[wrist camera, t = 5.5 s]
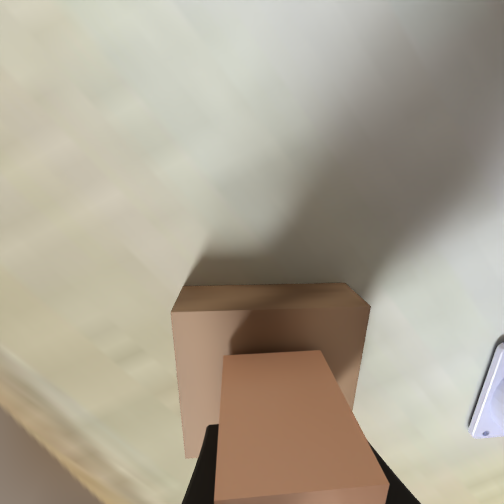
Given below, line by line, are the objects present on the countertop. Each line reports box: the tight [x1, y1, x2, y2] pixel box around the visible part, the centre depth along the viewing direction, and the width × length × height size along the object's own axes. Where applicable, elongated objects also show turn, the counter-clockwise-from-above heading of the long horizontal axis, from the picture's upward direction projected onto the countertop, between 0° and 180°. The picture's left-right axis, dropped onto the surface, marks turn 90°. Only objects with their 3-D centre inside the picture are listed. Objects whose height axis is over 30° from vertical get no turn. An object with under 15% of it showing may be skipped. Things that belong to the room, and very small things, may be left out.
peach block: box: [214, 350, 390, 504], centre depth 9 cm, size 4×4×5 cm
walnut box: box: [171, 283, 371, 459], centre depth 13 cm, size 9×9×3 cm
